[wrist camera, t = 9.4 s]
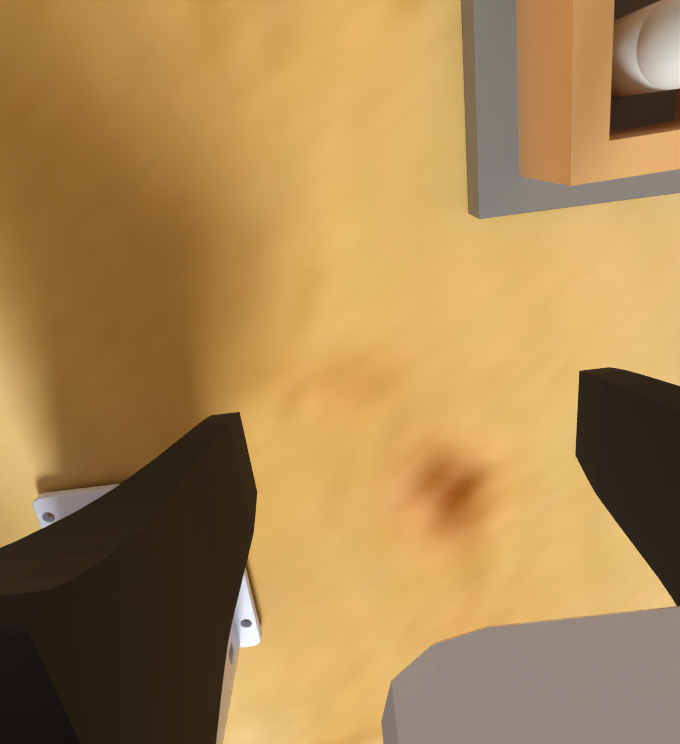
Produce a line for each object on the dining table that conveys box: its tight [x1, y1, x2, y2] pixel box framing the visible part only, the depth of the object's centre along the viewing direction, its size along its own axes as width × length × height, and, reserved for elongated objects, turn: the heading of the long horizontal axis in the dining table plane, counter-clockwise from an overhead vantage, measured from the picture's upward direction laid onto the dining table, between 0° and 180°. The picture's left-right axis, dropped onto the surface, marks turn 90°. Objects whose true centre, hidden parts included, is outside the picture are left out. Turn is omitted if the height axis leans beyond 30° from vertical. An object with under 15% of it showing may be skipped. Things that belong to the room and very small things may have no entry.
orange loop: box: [515, 0, 680, 186], centre depth 14 cm, size 6×6×4 cm
